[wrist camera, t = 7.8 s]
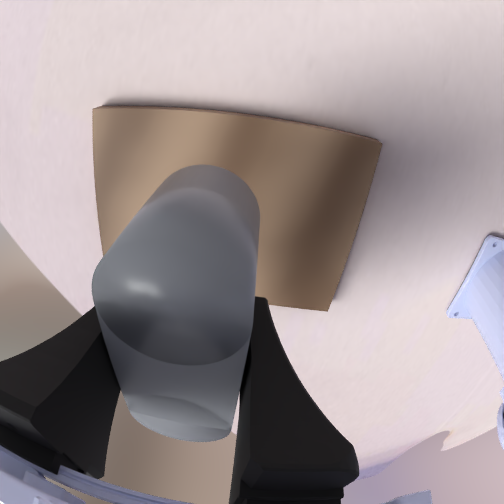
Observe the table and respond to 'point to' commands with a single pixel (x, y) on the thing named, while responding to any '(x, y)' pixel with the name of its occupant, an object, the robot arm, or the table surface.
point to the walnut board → (255, 176)
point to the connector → (183, 302)
